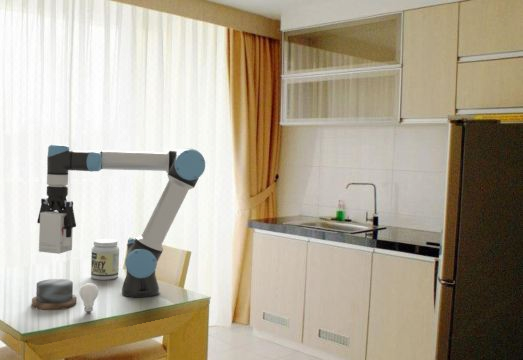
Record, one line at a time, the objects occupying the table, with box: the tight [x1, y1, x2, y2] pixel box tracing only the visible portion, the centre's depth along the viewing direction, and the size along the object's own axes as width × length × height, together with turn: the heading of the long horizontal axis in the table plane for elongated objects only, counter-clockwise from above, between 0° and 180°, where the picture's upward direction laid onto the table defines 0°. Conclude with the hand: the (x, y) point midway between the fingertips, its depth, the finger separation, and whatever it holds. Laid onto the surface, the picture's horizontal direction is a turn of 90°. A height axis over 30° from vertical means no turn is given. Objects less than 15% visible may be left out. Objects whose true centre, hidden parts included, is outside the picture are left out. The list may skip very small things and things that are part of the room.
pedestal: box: [31, 278, 78, 311], centre depth 218 cm, size 16×16×8 cm
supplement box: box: [38, 210, 74, 255], centre depth 218 cm, size 9×9×15 cm
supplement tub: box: [90, 238, 120, 281], centre depth 262 cm, size 12×12×17 cm
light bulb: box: [79, 282, 99, 314], centre depth 209 cm, size 7×7×11 cm
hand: (55, 244), depth 218 cm, fingers closed on supplement box, 10 cm apart
